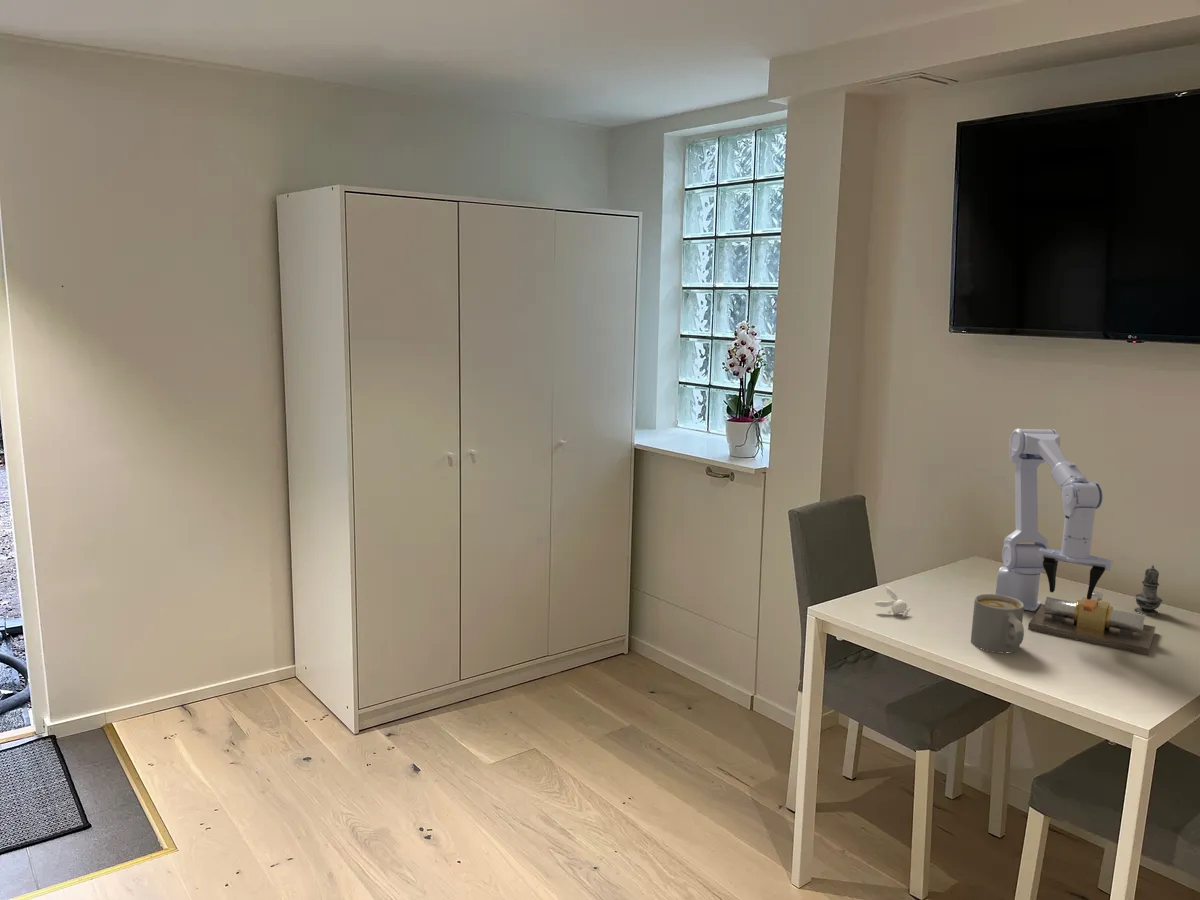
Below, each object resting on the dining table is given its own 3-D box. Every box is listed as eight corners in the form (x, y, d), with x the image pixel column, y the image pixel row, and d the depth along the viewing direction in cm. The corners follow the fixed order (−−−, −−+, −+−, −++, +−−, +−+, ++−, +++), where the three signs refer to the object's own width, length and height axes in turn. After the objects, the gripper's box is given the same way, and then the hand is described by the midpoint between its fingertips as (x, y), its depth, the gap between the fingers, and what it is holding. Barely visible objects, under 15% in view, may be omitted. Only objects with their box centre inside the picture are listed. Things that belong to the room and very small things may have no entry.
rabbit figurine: (902, 620, 218) (873, 599, 221) (898, 627, 221) (870, 606, 224) (916, 603, 220) (887, 583, 224) (912, 610, 223) (884, 590, 227)
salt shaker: (1164, 617, 223) (1171, 569, 221) (1138, 615, 224) (1144, 567, 222) (1155, 609, 229) (1161, 562, 226) (1129, 606, 230) (1135, 560, 228)
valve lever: (1089, 596, 214) (1090, 590, 213) (1102, 598, 212) (1103, 592, 212) (1080, 611, 204) (1081, 604, 203) (1094, 613, 202) (1095, 607, 202)
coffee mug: (963, 635, 209) (968, 593, 207) (1008, 636, 209) (1012, 594, 207) (987, 659, 196) (991, 614, 194) (1034, 660, 196) (1039, 615, 194)
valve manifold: (1028, 629, 213) (1031, 597, 212) (1041, 610, 226) (1045, 580, 225) (1147, 654, 200) (1151, 621, 198) (1154, 632, 213) (1159, 601, 211)
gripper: (1038, 534, 205) (1031, 592, 207) (1111, 545, 196) (1104, 606, 199) (1044, 527, 210) (1038, 584, 213) (1116, 538, 202) (1108, 597, 205)
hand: (1070, 594), depth 206 cm, fingers open, 7 cm apart
